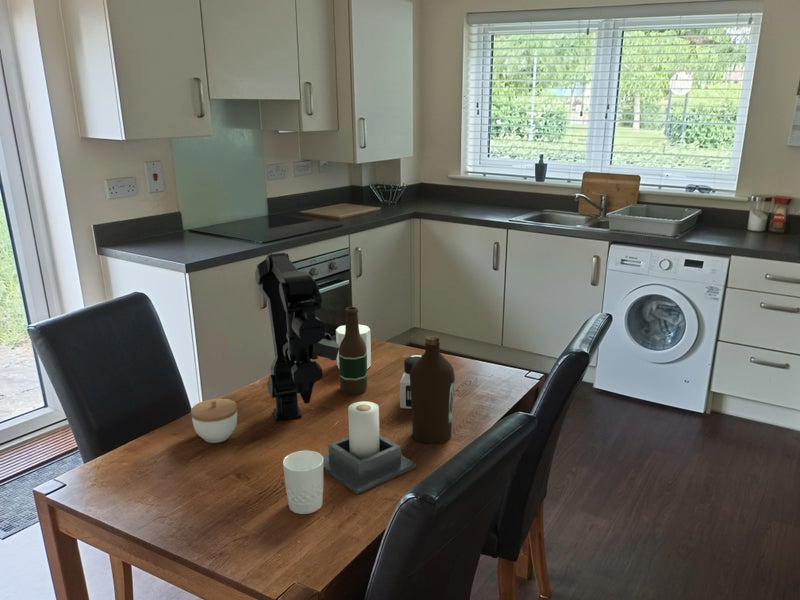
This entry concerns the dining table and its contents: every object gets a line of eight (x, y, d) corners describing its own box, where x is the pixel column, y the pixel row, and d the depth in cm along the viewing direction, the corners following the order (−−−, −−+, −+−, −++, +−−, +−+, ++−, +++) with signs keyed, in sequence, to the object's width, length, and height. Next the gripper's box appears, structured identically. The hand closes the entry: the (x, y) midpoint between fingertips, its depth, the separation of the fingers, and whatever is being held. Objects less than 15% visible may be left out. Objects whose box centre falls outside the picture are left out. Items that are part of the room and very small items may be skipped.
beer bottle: (373, 387, 188) (371, 306, 181) (357, 397, 181) (354, 314, 175) (351, 381, 192) (348, 302, 185) (334, 391, 185) (331, 309, 179)
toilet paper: (340, 359, 209) (339, 323, 205) (373, 360, 208) (372, 324, 204) (334, 372, 199) (332, 334, 196) (368, 373, 198) (367, 335, 195)
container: (428, 410, 173) (428, 364, 170) (399, 408, 175) (399, 362, 171) (433, 398, 181) (433, 353, 177) (405, 396, 182) (405, 352, 178)
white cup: (308, 521, 128) (305, 475, 125) (277, 508, 132) (274, 463, 129) (333, 501, 134) (331, 456, 131) (303, 489, 138) (300, 446, 135)
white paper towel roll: (345, 466, 145) (343, 411, 141) (357, 452, 151) (355, 399, 147) (372, 471, 143) (371, 416, 139) (384, 456, 149) (383, 403, 145)
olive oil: (411, 446, 155) (410, 345, 148) (409, 425, 166) (408, 330, 159) (456, 445, 156) (458, 344, 149) (451, 424, 166) (452, 329, 159)
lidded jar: (185, 437, 160) (181, 402, 158) (223, 422, 168) (220, 388, 165) (209, 452, 153) (205, 415, 151) (248, 436, 161) (245, 400, 158)
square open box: (314, 463, 148) (313, 443, 147) (371, 440, 158) (371, 421, 156) (357, 494, 136) (356, 472, 135) (415, 467, 146) (415, 447, 145)
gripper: (344, 340, 142) (346, 406, 146) (327, 315, 159) (330, 375, 163) (292, 345, 138) (296, 413, 143) (281, 319, 156) (285, 381, 160)
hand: (303, 394), depth 152 cm, fingers open, 9 cm apart
